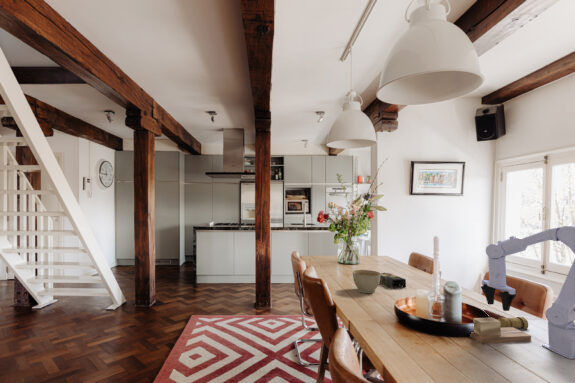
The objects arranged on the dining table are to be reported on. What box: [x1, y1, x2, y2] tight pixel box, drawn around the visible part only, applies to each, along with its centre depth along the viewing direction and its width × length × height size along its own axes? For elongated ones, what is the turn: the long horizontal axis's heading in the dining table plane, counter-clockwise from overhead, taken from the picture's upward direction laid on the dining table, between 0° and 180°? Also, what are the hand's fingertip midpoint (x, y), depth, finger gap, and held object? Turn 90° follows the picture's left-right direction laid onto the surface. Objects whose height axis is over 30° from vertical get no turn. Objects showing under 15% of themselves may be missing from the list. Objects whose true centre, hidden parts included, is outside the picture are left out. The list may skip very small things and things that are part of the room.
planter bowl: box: [352, 269, 382, 294], centre depth 178 cm, size 16×16×11 cm
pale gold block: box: [472, 317, 501, 336], centre depth 115 cm, size 4×8×5 cm, turn 97°
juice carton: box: [379, 272, 407, 290], centre depth 193 cm, size 20×10×6 cm, turn 12°
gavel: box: [483, 309, 529, 330], centre depth 134 cm, size 21×5×10 cm
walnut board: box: [469, 327, 532, 345], centre depth 116 cm, size 8×20×2 cm, turn 97°
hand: (498, 307), depth 123 cm, fingers open, 7 cm apart
